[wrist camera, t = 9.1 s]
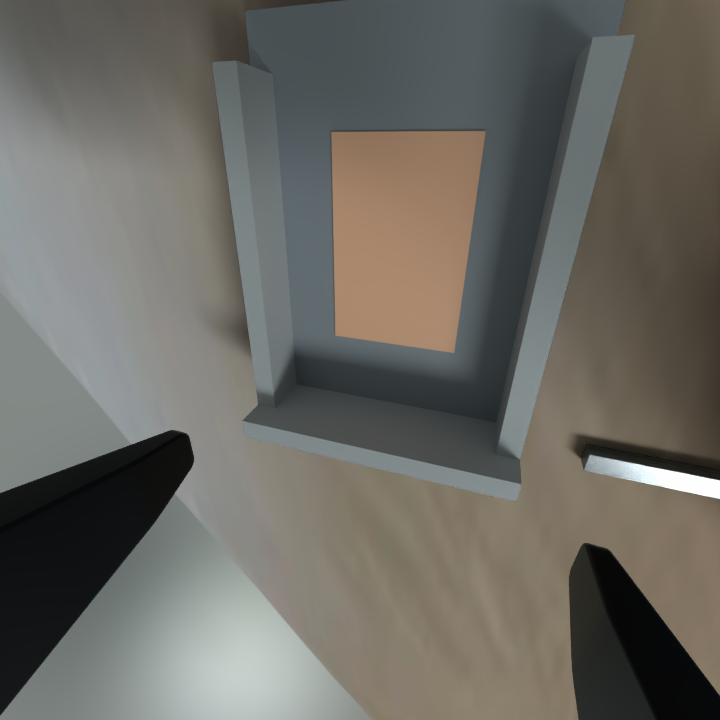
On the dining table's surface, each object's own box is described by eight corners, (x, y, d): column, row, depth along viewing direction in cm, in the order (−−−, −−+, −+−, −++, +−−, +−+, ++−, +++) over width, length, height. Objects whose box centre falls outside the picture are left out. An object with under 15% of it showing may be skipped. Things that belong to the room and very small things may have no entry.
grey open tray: (624, -17, 12) (692, -114, 8) (511, 437, 20) (514, 510, 16) (258, 18, 15) (167, -34, 11) (290, 394, 24) (245, 444, 20)
